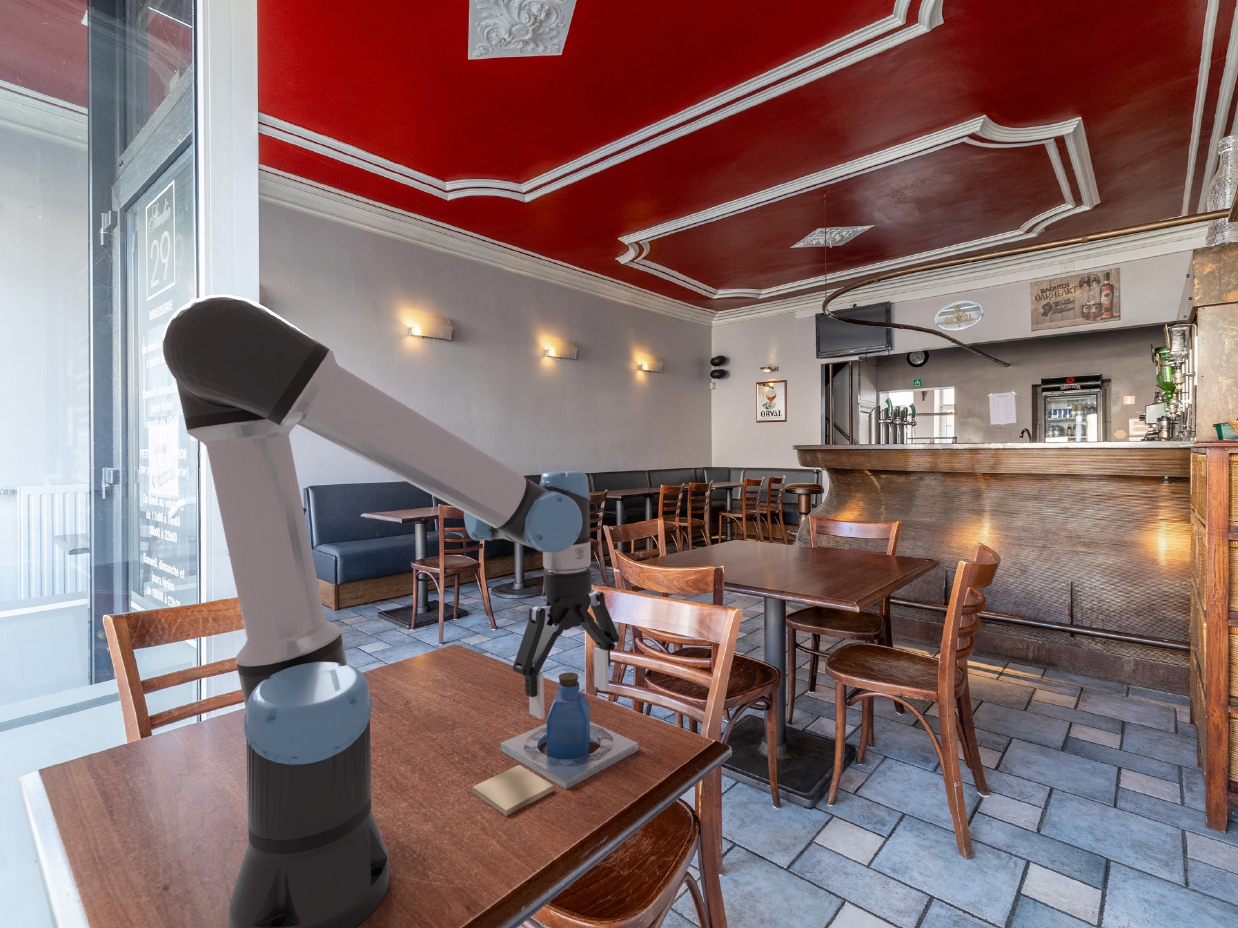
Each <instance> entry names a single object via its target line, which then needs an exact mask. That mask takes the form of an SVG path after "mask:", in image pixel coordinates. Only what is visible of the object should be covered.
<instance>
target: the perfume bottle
mask: <svg viewBox="0 0 1238 928" xmlns="http://www.w3.org/2000/svg"><path fill="white" fill-rule="evenodd" d="M578 680H579V674H578V673H575V672H563V673H560V674H559V675H558V683H557V692H556V695H555V696H554V699H553V701H552V703H551V707H550V710H549V713H548V715H547V718H546V724H547V741H546V756H548V757H552V758H555V759H578V758H581V757H584V756H587V755H589V750H590V745H591V739H590V722H591V720H590V719H591V714H590V713H591V712H590V711H591V710H590V708H591V706H590V703H589V701H588V699H587V697H586V696H585V694H584V692H583V691H580V682H579V681H578Z"/></svg>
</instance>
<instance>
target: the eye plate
mask: <svg viewBox="0 0 1238 928" xmlns="http://www.w3.org/2000/svg"><path fill="white" fill-rule="evenodd" d="M590 740H592V741H594V742H596V744H598V745H599V747H598V748H597V749H596V750H595V751H594V752H592V753H590V754H589V753H588V755H587V756H584V757H581V758H578V759H555V758H552V757H548V756H547V754H544V753H542V751H540V748H539V747H540V746H542V745H543V744H545V743H547V723H544V724H542V725H540V726H537V727H535V728H533V729H530V730H528V731H526V732H524V733H523V732H522V733H521V734H518V735H517V736H514V737H511V738H509V739H507V740H504V741H502V742H500V752H503V753H504V754H506V755H507V756H508V757H511V758H512V759H514V760H516V761H518V762H519V763H521V764H523V765H524V766H526V767H528V768H529V769H532V770H533V771H535V772H536V773H538V774H539V775H541V776H542V777H545V778H547V779H548V780H550V781H551V782H553V783H555V784H556V785H558V786H560V787H561V788H563V789H565V790H567V789H569V788H571V787H573V786H575V785H577V784H579V783H581V782H583V781H585V780H586V779H588V778H590V777H591V776H594V775H596V774H598V773H599V772H601V771H602V770H605V769H607V768H608V767H611V766H613V765H614V764H616V763H618V762H620V761H622V760H623V759H625V758H627V757H629V756H631V755H633V754H635V753H637V752H638V751H639V743H638V742H637V741H635V740H632V739H630V738H628V737H625V736H623V735H622V734H618V733H616V732H615V731H613V730H609V729H608V728H605V727H603V726H601V725H599V724H596V723H594V722H593V721H590Z"/></svg>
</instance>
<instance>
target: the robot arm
mask: <svg viewBox="0 0 1238 928" xmlns="http://www.w3.org/2000/svg"><path fill="white" fill-rule="evenodd" d="M162 352H163V353H162V354H163V357H164V361H165V364H166V366H167V368H168V370H169V371H170V373H171V375H172V376H173V378H174V380H175V382H176V386H177V390H178V391H177V392H178V397H179V400H180V406H181V409H182V414H183V420H184V422H185V428H186V432H187V434H188V435H189V436H191V437H193V438H194V439H196V440H198V442H201V443H202V444H203V445H204V446H205V447H206V450H207V455H208V456H207V457H208V460H209V466H210V470H211V474H212V479H213V484H214V490H215V494H216V498H217V499H216V500H217V502H218V503H217V504H218V508H219V513H220V517H221V518H220V519H221V523H222V527H223V533H224V537H225V541H226V546H227V551H228V556H229V560H230V565H231V571H232V574H233V580H234V584H235V585H234V586H235V590H236V594H237V599H238V603H239V608H240V612H241V618H242V623H243V627H244V632H245V636H246V642H245V644H244V645H243V646H242V648H241V649H240V650H239V652H238V653H237V654H236V656H235V662H236V667H237V672H238V676H239V677H238V678H239V682H240V687H241V692H242V698H243V702H244V707H245V713H244V718H243V730H244V731H243V732H244V737H245V738H246V776H247V777H246V779H247V780H246V781H247V783H246V785H247V787H246V788H247V790H246V791H247V826H248V827H247V829H248V842H247V847H246V850H245V853H244V856H243V858H242V863H241V865H240V868H239V871H238V875H237V877H236V880H235V883H234V887H233V890H232V893H231V897H230V898H229V899H230V900H229V905H228V916H229V917H228V923H229V924H228V925H229V926H228V927H229V928H356V927H357V926H358V925H360V924H361V923H362V922H363V921H364V920H365V919H367V918H368V917H369V916H370V915H371V914H372V913H373V912H374V911H375V910H376V909H377V907H379V905H380V904H381V902H382V900H383V899H384V897H385V895H386V894H387V891H388V888H389V884H390V876H391V875H390V873H391V872H390V856H389V851H388V849H387V846H386V844H385V840H384V839H383V838H384V837H382V833H381V831H380V828H379V826H378V823H377V821H376V819H375V815H374V813H373V810H372V766H371V765H372V763H371V755H372V753H371V716H372V708H373V705H372V704H373V703H372V701H373V700H372V696H371V693H370V688H369V687H370V686H369V681H368V680H367V677H366V676H365V675H364V673H363V672H362V671H361V670H359V669H357V667H354V666H352V665H349V664H348V662H347V657H346V652H345V647H344V641H343V638H342V632H341V627H339V626H338V625H337V624H334V623H333V622H331V621H328V620H326V617H325V614H324V609H323V603H322V597H321V593H320V589H319V583H318V577H317V572H316V567H315V561H314V557H313V551H312V547H311V541H310V537H309V532H308V526H307V521H306V516H305V511H304V506H303V500H302V495H301V490H300V485H299V480H298V475H297V470H296V466H295V465H296V464H295V460H294V456H293V450H292V446H291V444H292V443H291V438H290V433H291V432H292V431H293V429H294V428H295V427H296V425H298V426H299V427H302V428H305V430H308V431H310V432H312V433H314V434H316V435H318V437H319V436H320V437H321V438H323V439H325V440H326V441H329V442H331V443H333V444H335V445H336V446H338V447H340V448H343V449H344V450H346V451H348V452H350V453H352V454H353V455H356V456H357V457H359V458H361V459H363V460H366V461H367V462H369V463H371V464H372V465H375V466H376V467H378V468H379V469H382V470H384V471H386V472H387V473H390V474H391V475H393V476H395V477H397V478H399V479H401V480H403V481H405V482H407V483H409V484H410V485H413V486H414V487H416V488H417V489H420V490H421V491H424V492H426V493H428V494H430V495H432V496H434V497H435V498H437V499H439V500H440V501H443V502H445V503H447V504H448V505H450V506H452V507H454V508H456V509H458V510H459V511H462V512H463V519H464V526H465V530H466V532H467V534H468V536H469V537H470V539H472V540H474V541H489V542H492V541H494V540H502V539H503V540H507V541H510V542H512V543H513V542H514V543H516V544H519V545H524V546H526V547H528V548H529V547H530V548H532V549H534V550H536V551H538V552H541V553H542V564H543V565H542V566H543V568H544V569H545V571H544V572H543V591H544V594H545V596H546V603H545V605H544V606H537V605H531V606H529V609H528V611H529V612H528V622H527V624H526V628H525V630H524V633H523V637H522V640H521V643H520V645H519V648H518V650H517V654H516V657H515V659H514V663H513V665H512V671H513V672H515V673H518V674H520V675H522V676H524V687H525V688H524V689H525V691H524V692H525V695H526V696H528V703H529V704H528V705H529V707H528V708H529V715H531V716H533V717H535V718H537V719H539V720H542V719H545V718H546V717H545V685H544V684H545V683H544V680H545V679H544V674H543V673H541V672H540V671H541V669H542V667H543V665H544V664H545V661H546V660H547V658H548V656H549V654H550V652H551V651H552V649H553V647H554V645H555V643H556V641H557V639H558V638H559V636H562V634H563V632H564V631H568V630H571V629H572V628H573V627H574V628H577V627H580V626H581V627H582V628H583V630H584V631H585V632H586V633H587V634H588V636H589V638H591V639H592V640H593V642H594V643H595V644H596V645H597V646H598V647H594V648H593V649H592V650H593V673H594V674H593V678H594V683H593V684H594V687H595V688H598V689H599V690H600V689H601V690H602V691H609V688H610V685H609V683H610V681H609V680H610V679H609V675H610V674H609V668H610V667H611V651H614V650H615V648H616V644H615V643H619V642H620V636H619V633H618V630H617V629H616V626H615V624H614V622H613V619H612V617H611V614H610V612H609V610H608V608H607V605H606V599H605V593H604V592H601V591H597V590H593V587H592V585H593V584H592V570H591V569H590V566H591V564H592V561H591V559H592V557H591V556H592V555H591V554H592V553H591V550H592V549H591V515H590V514H591V513H590V512H591V511H590V510H591V509H590V506H591V505H590V501H591V495H590V485H589V478H588V476H587V474H586V473H585V472H583V471H579V470H564V471H563V470H562V471H561V470H559V471H546V472H543V473H542V474H541V477H540V481H539V484H537V483H536V482H534V481H533V480H531V479H529V478H527V477H526V476H524V475H523V474H521V473H519V472H518V471H516V470H515V469H512V468H511V467H509V466H507V464H504V463H503V462H500V461H499V460H497V459H496V458H495V457H492V456H491V455H490V454H488V453H485V452H484V451H483V450H481V449H479V448H477V447H476V446H474V445H473V444H471V443H469V442H467V441H466V440H464V439H462V438H460V437H459V436H457V435H456V434H454V433H452V432H450V431H449V430H447V429H446V428H444V427H443V426H440V425H439V424H437V423H435V422H434V421H433V420H431V419H429V418H427V417H425V416H424V415H422V414H421V413H419V412H417V411H415V410H414V409H413V408H410V407H409V406H407V405H406V404H404V403H402V402H400V401H399V400H397V399H395V398H394V397H392V396H391V395H388V394H387V393H385V392H384V391H382V390H381V389H379V388H377V387H375V386H374V385H372V384H370V383H369V382H367V381H365V380H363V379H362V378H360V377H358V376H357V375H356V374H354V373H352V372H351V371H349V370H346V369H345V368H343V367H342V366H340V365H338V364H339V363H337V361H336V357H335V354H334V351H333V350H332V349H330V348H329V347H327V346H325V345H324V344H323V343H321V342H319V341H317V340H315V338H313V337H311V336H309V335H308V334H307V333H305V332H304V331H302V330H301V329H299V328H298V327H296V326H295V325H293V324H292V323H290V322H288V321H287V320H286V319H283V318H282V317H281V316H280V315H278V314H276V313H275V312H273V311H271V310H270V309H268V308H267V307H265V306H263V305H261V304H259V303H258V302H255V301H253V300H250V299H247V298H244V297H240V296H235V295H228V294H217V295H208V296H203V297H199V298H196V299H194V300H192V301H190V302H188V303H187V304H185V305H183V306H181V307H180V308H179V309H178V310H177V311H176V312H175V313H174V314H173V315H172V316H171V318H170V319H169V321H168V322H167V325H166V326H165V329H164V332H163V337H162ZM589 608H591V611H592V613H593V615H594V616H592V615H591V613H590V612H589ZM595 619H596V621H595Z"/></svg>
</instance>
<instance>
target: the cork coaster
mask: <svg viewBox="0 0 1238 928" xmlns="http://www.w3.org/2000/svg"><path fill="white" fill-rule="evenodd" d="M471 789H472V790H471V791H472V794H474V795H475V796H477V797H478V798H480V799H481V800H483V802H485V803H486V804H488V805H489V806H490V807H492V808H494V809H495V810H497V811H498V812H499V813H501V814H502V815H503V816H505V817H508V816H509V815H511V814H513V813H514V812H517V811H518V810H520V809H523V808H524V807H526V806H528V805H531V804H532V803H534V802H535V801H538V800H539V799H542V798H543V797H545V796H547V795H549V794H550V793H553V792H554V785H553V784H552V783H550V782H549V781H547V780H545V779H543V778H542V777H540V776H539V775H537V774H535V773H533V772H532V771H530V770H529V769H527V768H525V767H523V766H522V765H520V764H518V765H516V766H513V767H512V768H509V769H508V770H505V771H503V772H501V773H499V774H496V775H494V776H492V777H490V778H488V779H485V780H484V781H482V782H479V783H477V784H475V785H473V786H472V788H471Z"/></svg>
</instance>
